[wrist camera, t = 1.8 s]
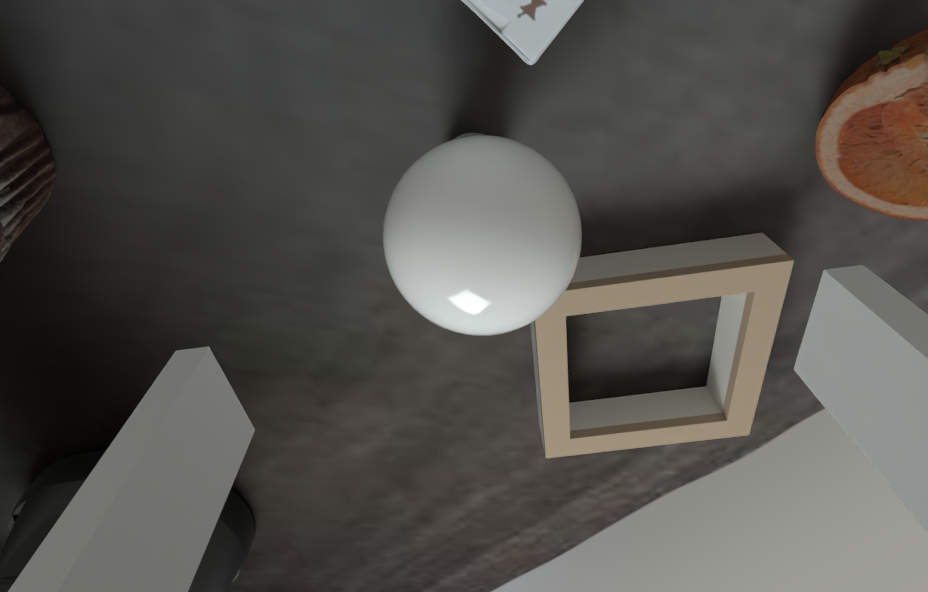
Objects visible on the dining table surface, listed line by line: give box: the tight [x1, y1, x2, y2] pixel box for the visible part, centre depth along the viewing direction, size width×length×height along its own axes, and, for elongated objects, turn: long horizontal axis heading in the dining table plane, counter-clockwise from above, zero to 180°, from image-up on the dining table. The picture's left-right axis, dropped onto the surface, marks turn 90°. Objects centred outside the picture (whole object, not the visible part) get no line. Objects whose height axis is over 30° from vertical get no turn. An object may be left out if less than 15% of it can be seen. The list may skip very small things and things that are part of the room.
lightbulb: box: [383, 133, 582, 336], centre depth 18 cm, size 6×6×11 cm
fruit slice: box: [815, 29, 928, 221], centre depth 20 cm, size 8×7×5 cm
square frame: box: [530, 233, 794, 458], centre depth 28 cm, size 12×12×3 cm
